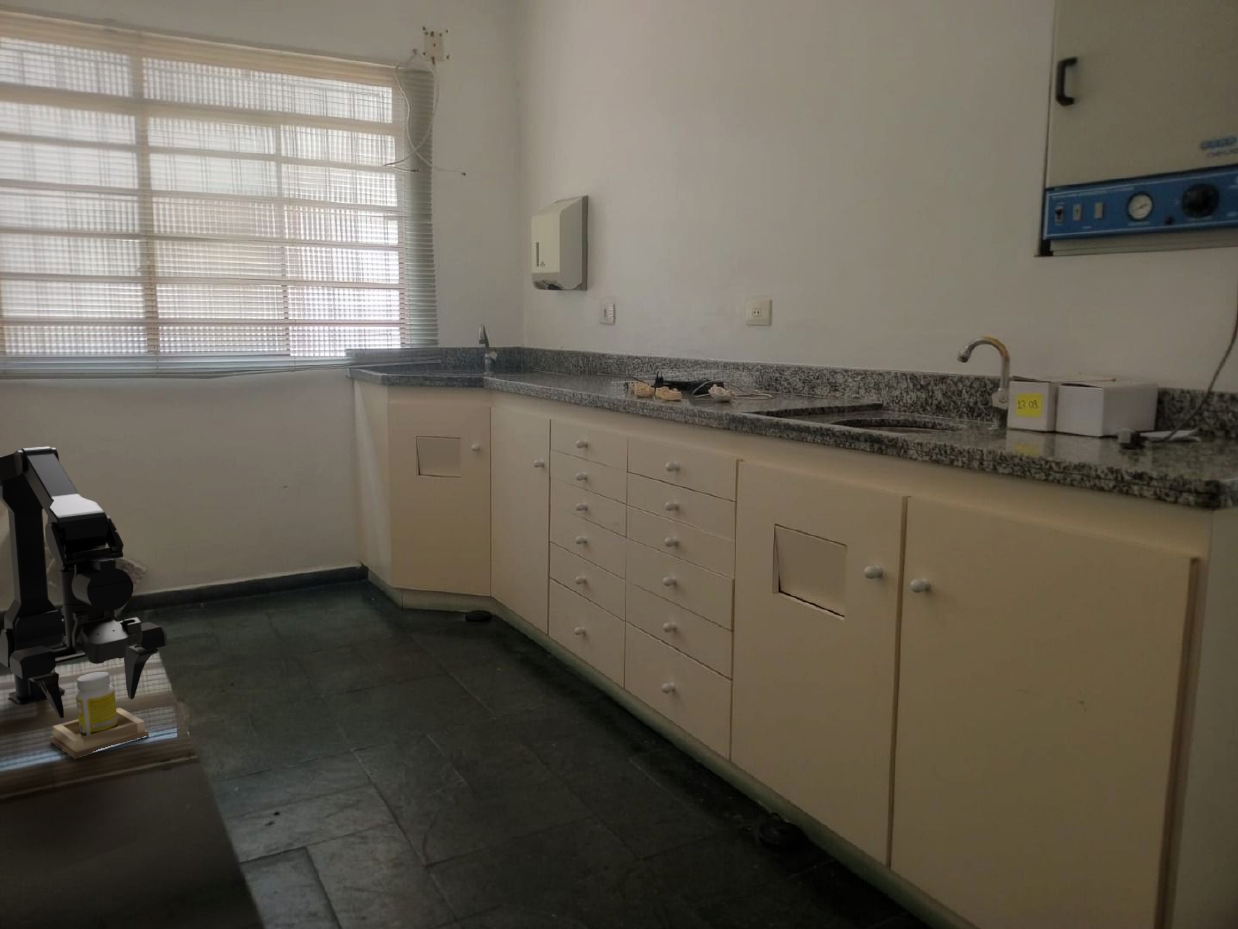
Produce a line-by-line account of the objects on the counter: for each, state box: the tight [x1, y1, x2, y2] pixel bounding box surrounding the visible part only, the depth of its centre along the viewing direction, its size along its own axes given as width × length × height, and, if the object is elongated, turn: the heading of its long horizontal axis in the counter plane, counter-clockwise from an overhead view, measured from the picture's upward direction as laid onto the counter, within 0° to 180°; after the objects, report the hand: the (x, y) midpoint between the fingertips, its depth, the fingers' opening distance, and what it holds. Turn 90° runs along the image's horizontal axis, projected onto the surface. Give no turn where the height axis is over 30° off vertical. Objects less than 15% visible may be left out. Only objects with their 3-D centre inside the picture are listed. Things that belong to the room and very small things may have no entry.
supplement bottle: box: [75, 671, 118, 737], centre depth 134 cm, size 5×5×8 cm
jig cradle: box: [50, 707, 150, 759], centre depth 135 cm, size 10×10×2 cm
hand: (97, 708), depth 134 cm, fingers open, 9 cm apart
